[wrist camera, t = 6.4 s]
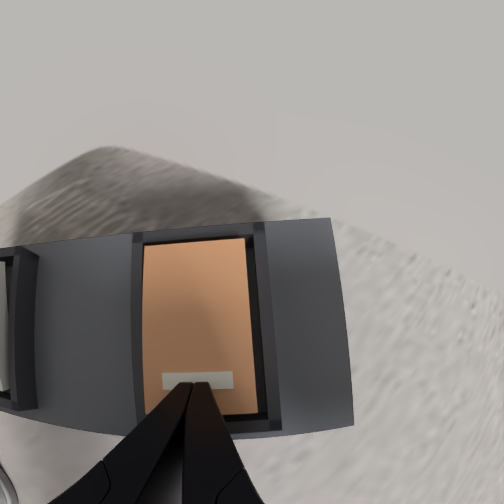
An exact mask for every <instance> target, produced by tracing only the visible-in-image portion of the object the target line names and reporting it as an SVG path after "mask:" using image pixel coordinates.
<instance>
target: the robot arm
mask: <svg viewBox="0 0 504 504" xmlns="http://www.w3.org/2000/svg"><path fill="white" fill-rule="evenodd" d="M48 504H264V502H263V501H262V499H261V498H260V496H259V494H258V493H257V491H256V489H255V487H254V485H253V483H252V481H251V479H250V477H249V475H248V473H247V471H246V469H245V467H244V465H243V463H242V460H241V458H240V456H239V454H238V452H237V449H236V447H235V445H234V442H233V440H232V438H231V436H230V433H229V431H228V428H227V426H226V424H225V421H224V419H223V416H222V414H221V412H220V409H219V407H218V404H217V402H216V399H215V397H214V394H213V392H212V389H211V386H210V384H209V382H195V383H193V382H179V383H178V384H177V385H176V386H175V387H174V388H173V389H172V390H171V391H170V392H169V393H168V394H167V395H166V396H165V397H164V398H163V399H162V400H161V401H160V403H159V404H158V405H157V406H156V407H155V408H154V409H153V410H152V411H151V412H150V413H149V414H148V415H147V416H146V417H145V418H144V419H143V420H142V421H141V422H140V423H139V424H138V425H137V426H136V427H135V428H134V429H133V430H132V431H131V432H130V433H129V434H128V435H127V436H126V437H125V438H124V439H123V440H122V441H121V442H120V443H119V444H118V445H117V446H116V447H115V448H114V449H112V450H111V451H110V452H109V453H108V454H107V455H106V456H105V457H104V458H103V461H102V460H101V461H99V462H98V463H97V464H96V465H95V466H94V467H93V468H92V469H91V470H90V471H89V472H88V473H87V474H85V475H84V476H83V477H82V478H81V479H80V480H79V481H77V482H76V483H75V484H74V485H72V486H71V487H70V488H68V489H67V490H66V491H65V492H63V493H62V494H60V495H59V496H58V497H56V498H55V499H53V500H52V501H51V502H49V503H48Z"/></svg>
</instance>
